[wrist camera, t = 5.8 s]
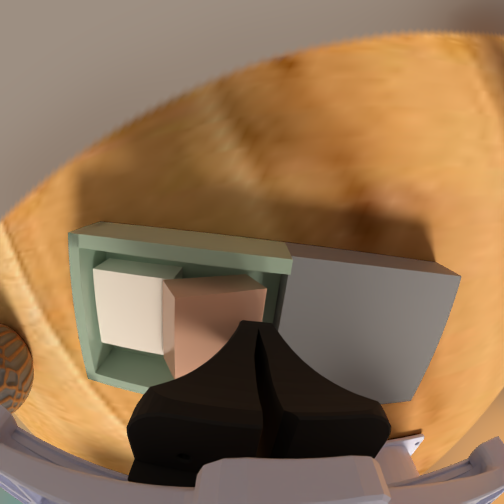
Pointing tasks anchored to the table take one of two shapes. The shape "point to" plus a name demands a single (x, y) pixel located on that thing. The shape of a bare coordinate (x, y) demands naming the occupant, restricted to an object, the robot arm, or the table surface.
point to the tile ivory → (132, 302)
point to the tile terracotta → (205, 316)
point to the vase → (14, 369)
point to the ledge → (364, 317)
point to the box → (166, 253)
